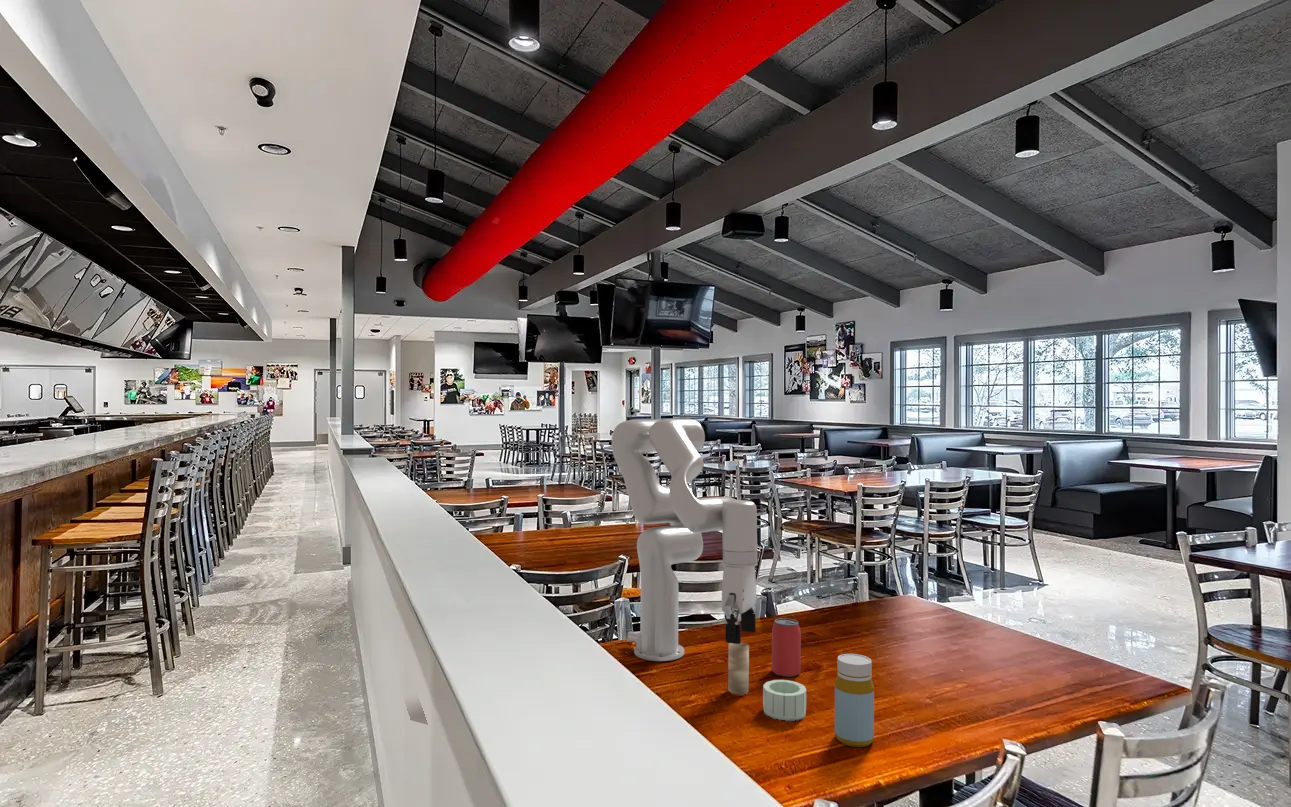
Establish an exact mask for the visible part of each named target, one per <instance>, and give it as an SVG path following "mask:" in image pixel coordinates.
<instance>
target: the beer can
mask: <svg viewBox="0 0 1291 807" xmlns="http://www.w3.org/2000/svg"><path fill="white" fill-rule="evenodd" d="M801 632H802V631H801V628H800V625H799V621H798V620H797V619H793V618H787V617H780V618H776V619H774V623H773V626H772V629H771V671H772V672H773V673H774V674H775V675H777V676H779V677H784V678H789V677H790V678H793V677H797V676H798V675H800V673H801V655H802V654H801V649H802V648H801V647H802V645H801V644H802V643H801V642H802V641H801V640H802V637H801V636H802V633H801Z"/></svg>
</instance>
